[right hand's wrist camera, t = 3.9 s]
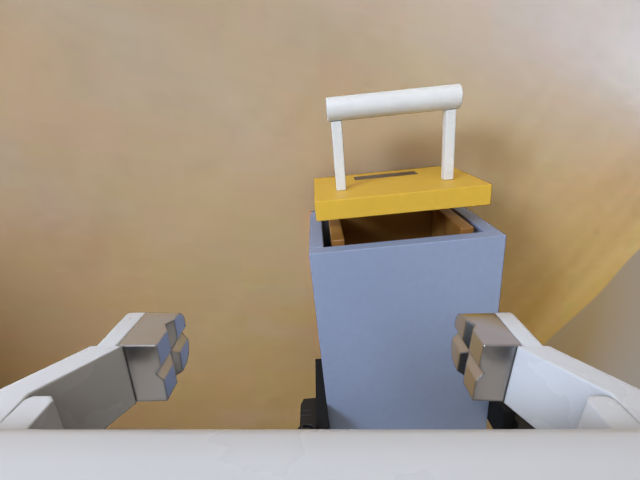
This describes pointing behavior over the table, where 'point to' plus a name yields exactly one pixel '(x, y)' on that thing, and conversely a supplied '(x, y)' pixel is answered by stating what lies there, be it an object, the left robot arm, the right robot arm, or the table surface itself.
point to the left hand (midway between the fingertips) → (394, 365)
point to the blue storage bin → (401, 324)
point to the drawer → (397, 177)
